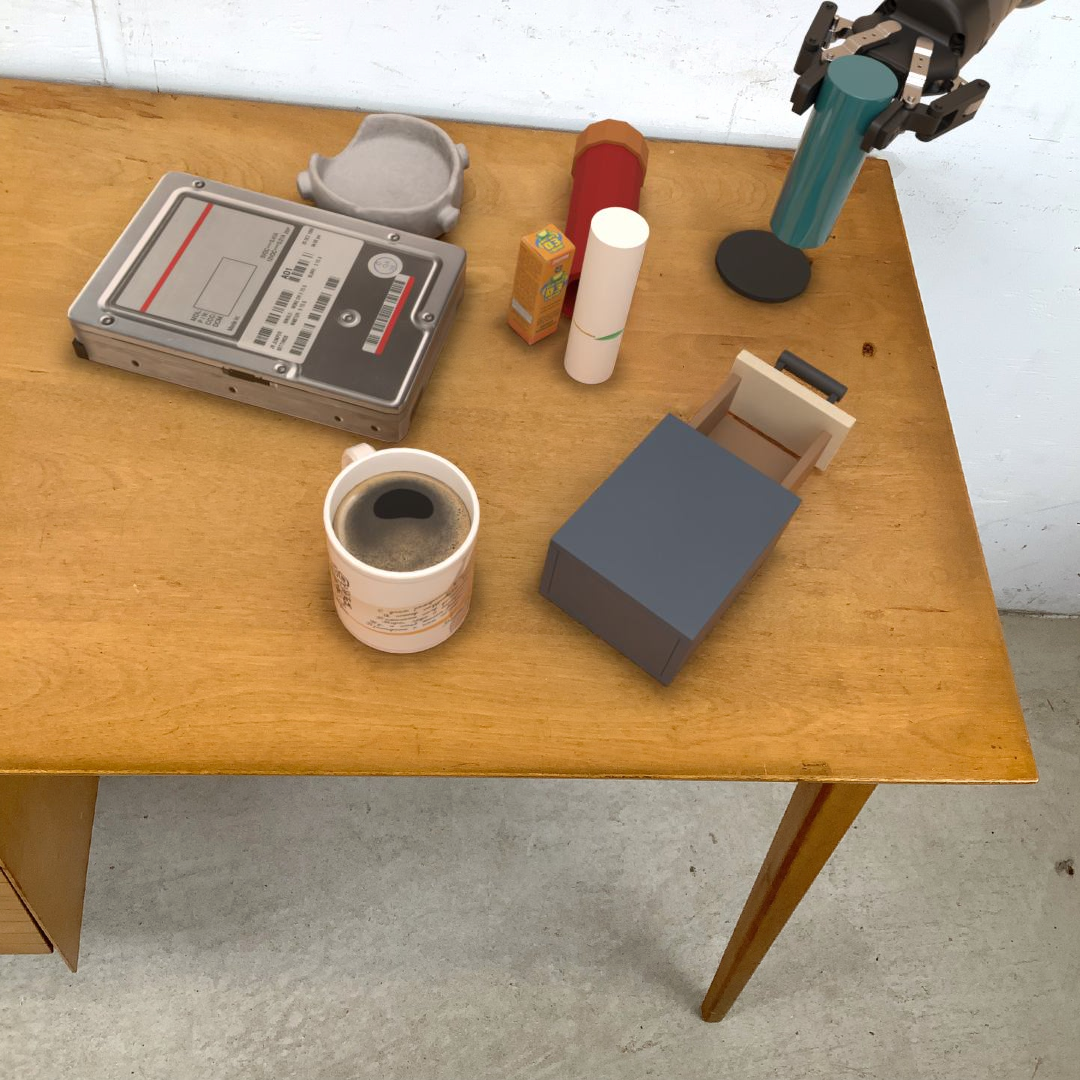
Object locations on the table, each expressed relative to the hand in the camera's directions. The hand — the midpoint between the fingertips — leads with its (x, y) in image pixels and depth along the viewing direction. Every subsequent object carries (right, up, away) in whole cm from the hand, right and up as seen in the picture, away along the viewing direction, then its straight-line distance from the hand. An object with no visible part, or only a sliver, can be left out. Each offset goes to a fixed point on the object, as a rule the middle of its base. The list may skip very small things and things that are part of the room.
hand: (834, 120), depth 68 cm
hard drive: (-41, -10, +17) cm, 46 cm away
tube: (-16, -13, +19) cm, 28 cm away
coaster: (+1, -3, +27) cm, 27 cm away
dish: (-34, +3, +26) cm, 42 cm away
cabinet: (-11, -31, +8) cm, 34 cm away
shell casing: (-15, -1, +26) cm, 30 cm away
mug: (-30, -31, +6) cm, 43 cm away
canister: (0, -4, +11) cm, 11 cm away
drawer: (-3, -22, +14) cm, 26 cm away
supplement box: (-20, -10, +20) cm, 30 cm away
